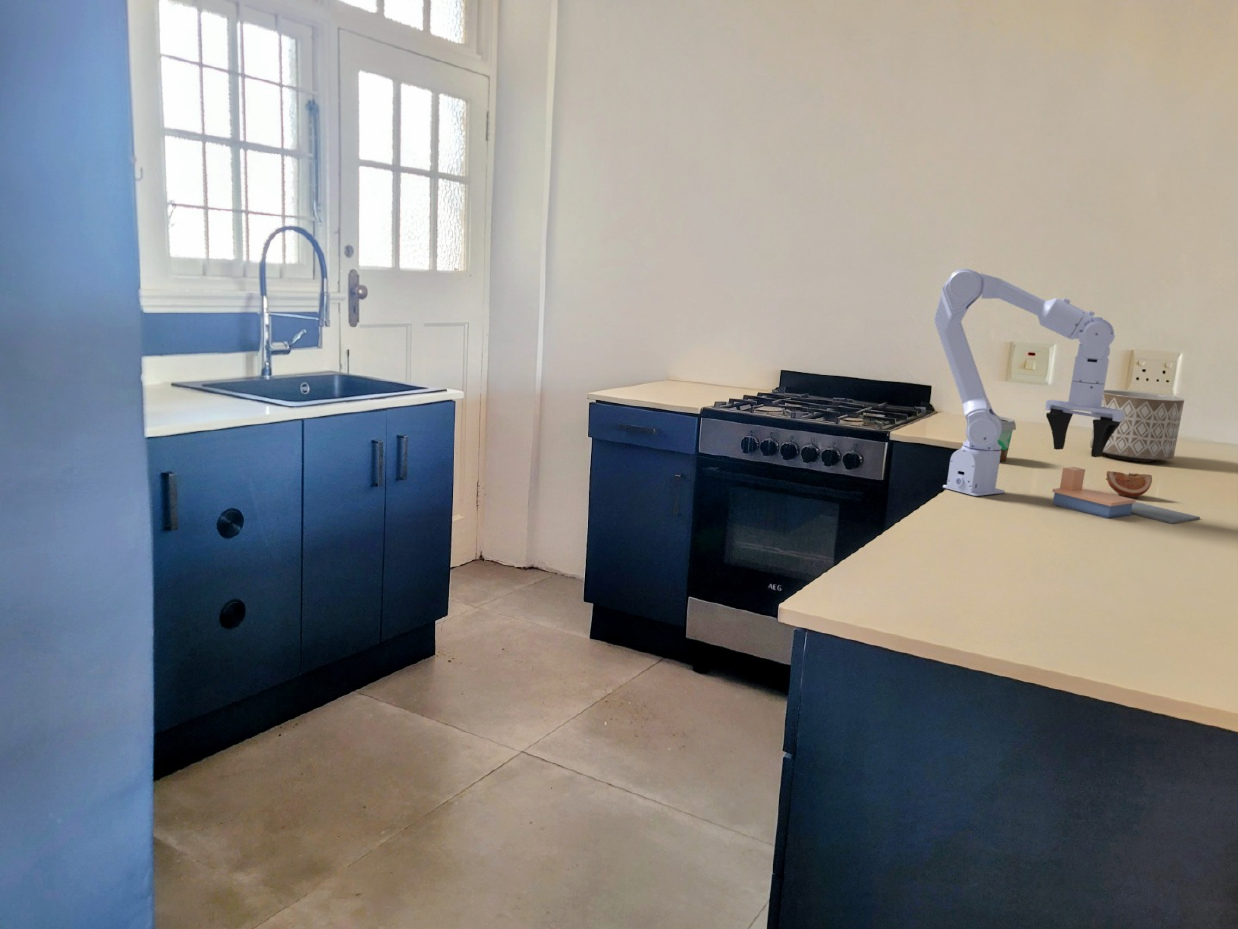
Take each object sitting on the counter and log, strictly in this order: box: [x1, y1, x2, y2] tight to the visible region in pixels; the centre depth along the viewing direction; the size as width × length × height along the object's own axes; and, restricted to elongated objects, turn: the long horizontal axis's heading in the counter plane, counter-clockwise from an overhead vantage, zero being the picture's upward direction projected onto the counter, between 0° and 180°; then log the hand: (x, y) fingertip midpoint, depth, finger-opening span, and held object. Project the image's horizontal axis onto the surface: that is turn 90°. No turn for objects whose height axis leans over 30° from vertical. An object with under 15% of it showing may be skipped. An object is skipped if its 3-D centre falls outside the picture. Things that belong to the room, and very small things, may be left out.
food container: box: [997, 415, 1017, 463], centre depth 227 cm, size 12×6×10 cm, turn 168°
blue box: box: [1052, 492, 1133, 519], centre depth 178 cm, size 8×11×2 cm
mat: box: [1131, 501, 1201, 525], centre depth 179 cm, size 10×13×1 cm
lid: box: [1051, 466, 1137, 506], centre depth 178 cm, size 8×12×6 cm
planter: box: [1089, 389, 1185, 463], centre depth 242 cm, size 19×19×16 cm
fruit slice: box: [1105, 470, 1153, 498], centre depth 193 cm, size 8×7×5 cm
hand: (1076, 452), depth 180 cm, fingers open, 7 cm apart
